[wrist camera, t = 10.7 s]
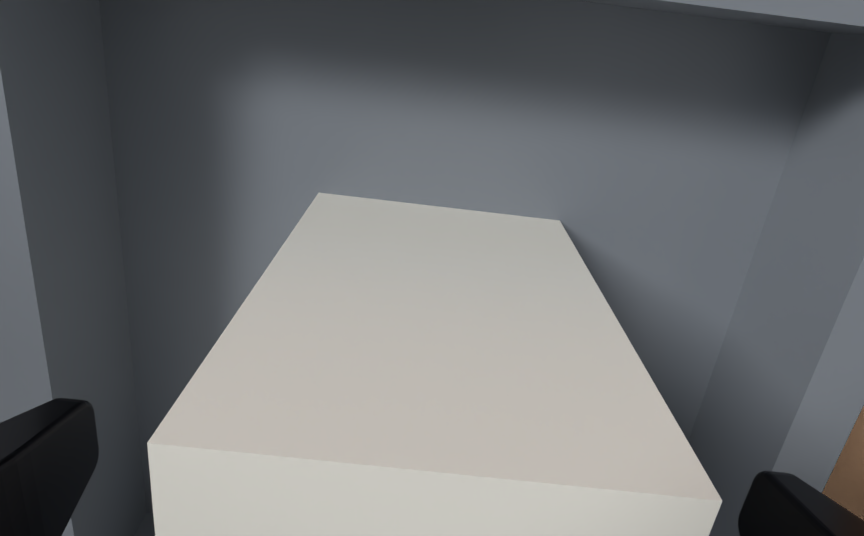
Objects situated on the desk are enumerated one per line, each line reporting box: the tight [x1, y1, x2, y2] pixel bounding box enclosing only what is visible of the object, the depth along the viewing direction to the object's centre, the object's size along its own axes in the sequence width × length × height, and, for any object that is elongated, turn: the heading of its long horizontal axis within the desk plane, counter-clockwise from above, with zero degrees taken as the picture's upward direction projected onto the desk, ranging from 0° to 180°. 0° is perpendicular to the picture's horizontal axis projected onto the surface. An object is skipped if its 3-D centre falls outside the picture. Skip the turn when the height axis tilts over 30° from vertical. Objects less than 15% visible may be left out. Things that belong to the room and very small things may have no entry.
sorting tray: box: [0, 0, 864, 536], centre depth 11 cm, size 14×14×3 cm
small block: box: [147, 193, 722, 536], centre depth 9 cm, size 4×4×7 cm
